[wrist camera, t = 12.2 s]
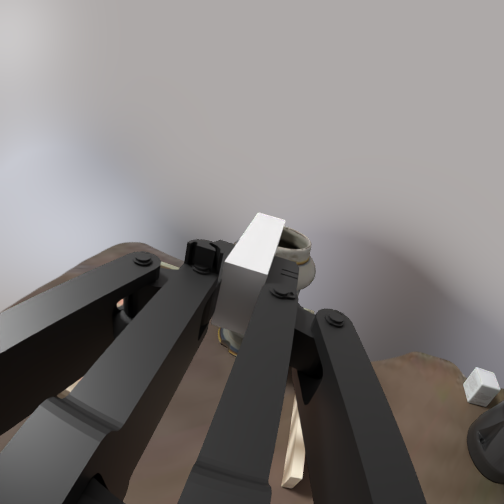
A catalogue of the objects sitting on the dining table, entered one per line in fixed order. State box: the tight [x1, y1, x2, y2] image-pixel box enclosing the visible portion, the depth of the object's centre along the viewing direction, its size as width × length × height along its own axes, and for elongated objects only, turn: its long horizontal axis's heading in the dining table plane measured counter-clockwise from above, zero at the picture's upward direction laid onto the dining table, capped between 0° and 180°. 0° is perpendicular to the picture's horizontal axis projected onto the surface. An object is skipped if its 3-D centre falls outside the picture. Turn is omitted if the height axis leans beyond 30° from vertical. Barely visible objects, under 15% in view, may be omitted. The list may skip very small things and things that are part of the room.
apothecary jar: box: [218, 226, 315, 357], centre depth 43 cm, size 12×12×18 cm
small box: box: [463, 367, 500, 407], centre depth 41 cm, size 6×6×5 cm
